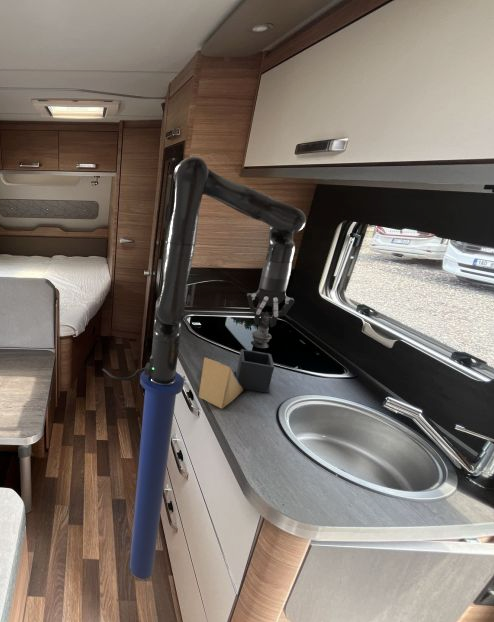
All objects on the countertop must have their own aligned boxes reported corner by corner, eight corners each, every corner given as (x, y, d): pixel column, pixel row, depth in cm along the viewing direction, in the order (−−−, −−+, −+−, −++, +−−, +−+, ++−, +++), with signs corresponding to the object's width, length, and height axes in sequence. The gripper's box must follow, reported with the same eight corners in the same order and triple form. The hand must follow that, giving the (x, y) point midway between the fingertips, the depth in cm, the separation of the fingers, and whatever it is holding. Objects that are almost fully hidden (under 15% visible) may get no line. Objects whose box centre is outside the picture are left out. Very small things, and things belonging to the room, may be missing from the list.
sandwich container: (244, 390, 114) (253, 351, 109) (222, 409, 105) (230, 368, 99) (220, 379, 120) (227, 342, 115) (197, 396, 111) (204, 357, 105)
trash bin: (236, 386, 116) (241, 361, 112) (236, 372, 124) (241, 348, 121) (267, 393, 113) (274, 367, 109) (265, 378, 121) (271, 354, 117)
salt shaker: (247, 340, 116) (254, 307, 111) (264, 340, 115) (272, 308, 111) (253, 348, 110) (261, 314, 106) (272, 349, 110) (280, 315, 105)
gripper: (299, 274, 104) (286, 324, 111) (249, 269, 110) (239, 317, 116) (304, 280, 98) (290, 333, 105) (250, 275, 103) (240, 326, 110)
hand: (263, 325), depth 110 cm, fingers closed on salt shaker, 3 cm apart
